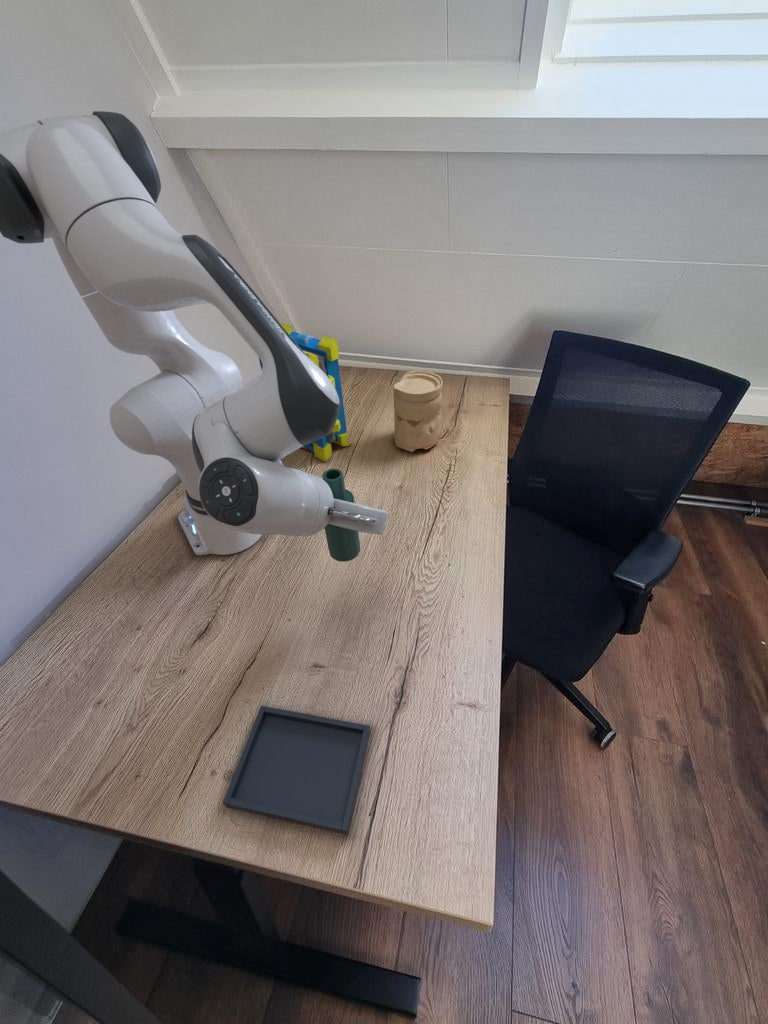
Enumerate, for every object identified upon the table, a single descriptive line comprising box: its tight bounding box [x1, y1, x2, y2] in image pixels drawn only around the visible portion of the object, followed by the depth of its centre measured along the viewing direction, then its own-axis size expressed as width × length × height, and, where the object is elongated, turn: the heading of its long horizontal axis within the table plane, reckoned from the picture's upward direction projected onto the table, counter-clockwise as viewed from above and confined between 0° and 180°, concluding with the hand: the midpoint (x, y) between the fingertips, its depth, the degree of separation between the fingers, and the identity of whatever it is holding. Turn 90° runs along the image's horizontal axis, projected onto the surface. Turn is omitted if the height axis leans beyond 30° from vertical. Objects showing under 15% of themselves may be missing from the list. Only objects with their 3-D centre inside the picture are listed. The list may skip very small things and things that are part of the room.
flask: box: [321, 468, 361, 563], centre depth 75 cm, size 6×6×17 cm
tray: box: [222, 705, 371, 836], centre depth 66 cm, size 18×14×2 cm
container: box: [392, 370, 444, 453], centre depth 121 cm, size 13×13×18 cm
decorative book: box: [258, 322, 350, 463], centre depth 119 cm, size 14×23×30 cm, turn 50°
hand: (340, 511), depth 75 cm, fingers closed on flask, 5 cm apart
